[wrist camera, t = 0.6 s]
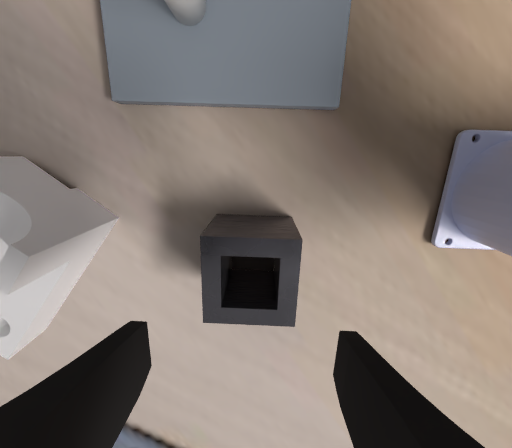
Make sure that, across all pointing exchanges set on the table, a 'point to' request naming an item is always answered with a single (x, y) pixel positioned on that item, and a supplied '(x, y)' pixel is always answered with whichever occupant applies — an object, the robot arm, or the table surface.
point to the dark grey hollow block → (250, 281)
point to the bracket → (41, 247)
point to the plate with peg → (226, 52)
